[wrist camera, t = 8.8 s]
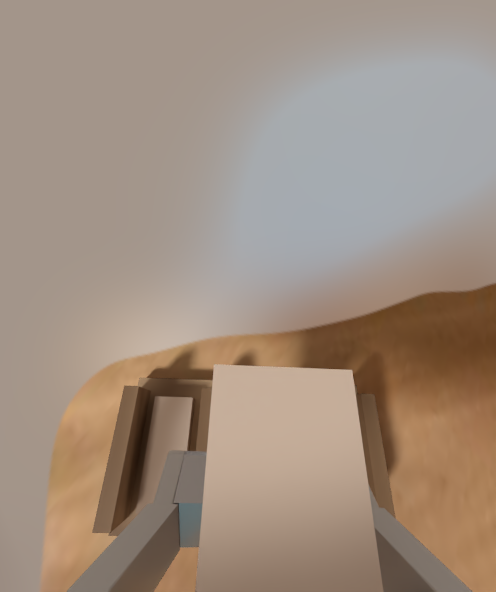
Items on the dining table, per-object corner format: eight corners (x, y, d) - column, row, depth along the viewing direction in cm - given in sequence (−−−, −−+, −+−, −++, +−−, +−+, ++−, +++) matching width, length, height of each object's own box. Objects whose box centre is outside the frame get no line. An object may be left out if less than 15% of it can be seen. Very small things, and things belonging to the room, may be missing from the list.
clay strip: (277, 403, 15) (352, 369, 6) (280, 544, 12) (424, 883, 3) (223, 401, 15) (214, 364, 6) (214, 543, 12) (170, 895, 3)
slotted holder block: (350, 386, 23) (373, 379, 20) (370, 533, 19) (404, 560, 15) (143, 379, 23) (126, 371, 19) (115, 529, 18) (85, 556, 15)
